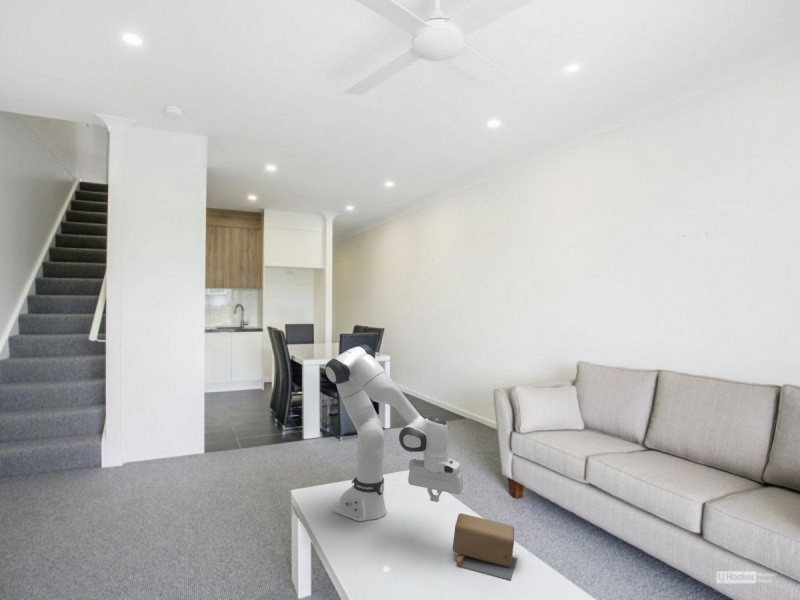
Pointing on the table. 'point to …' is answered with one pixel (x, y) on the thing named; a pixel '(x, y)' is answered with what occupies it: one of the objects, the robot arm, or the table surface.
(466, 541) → the wooden block
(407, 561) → the table surface
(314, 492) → the table surface
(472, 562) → the mat
